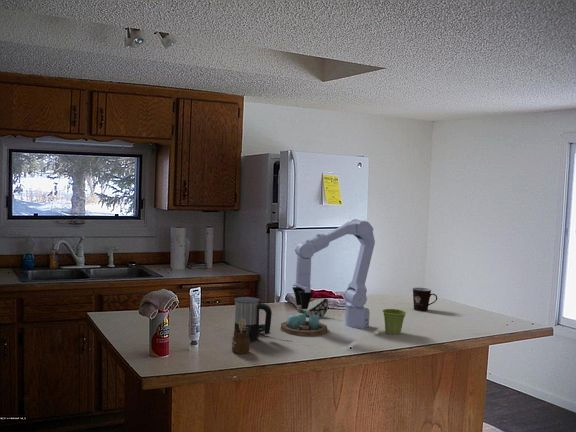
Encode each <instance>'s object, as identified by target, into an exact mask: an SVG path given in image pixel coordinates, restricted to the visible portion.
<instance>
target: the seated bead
mask: <svg viewBox="0 0 576 432" xmlns="http://www.w3.org/2000/svg"><path fill="white" fill-rule="evenodd" d="M308 321H309V329H310V330H318V329H319V323H320V317H319V316H317V315H310V316H308Z"/></svg>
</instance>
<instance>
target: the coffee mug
mask: <svg viewBox="0 0 576 432" xmlns="http://www.w3.org/2000/svg"><path fill="white" fill-rule="evenodd" d="M431 296H434V297H435V300H434V301H433V302H431V303H430V298H431ZM412 298H413V299H412V300H413V311H416V312H428V310H429V306H431V305H433V304H435V303H436V302H437V301H438V296H437V294H436V293H432V289H431V288H427V287H417V286H416V287H413V288H412Z"/></svg>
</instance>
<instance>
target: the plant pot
mask: <svg viewBox="0 0 576 432" xmlns="http://www.w3.org/2000/svg"><path fill="white" fill-rule="evenodd" d="M382 312H383V318H384V330H385V333H386V334H388V335H389V334H390V335H400V334H402V328H403V324H404V319H405V316H406V314H407V311H405V310H403V309H398V308H397V309H396V308H384V309H382Z"/></svg>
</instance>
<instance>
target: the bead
mask: <svg viewBox="0 0 576 432" xmlns="http://www.w3.org/2000/svg"><path fill="white" fill-rule="evenodd" d="M287 321H288V323H287V327H289V328H291V329H296V330H297V328H298V316H296V314H295V315H294V314H293V315H292V314H291V315H290V314H289V315H287Z"/></svg>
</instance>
